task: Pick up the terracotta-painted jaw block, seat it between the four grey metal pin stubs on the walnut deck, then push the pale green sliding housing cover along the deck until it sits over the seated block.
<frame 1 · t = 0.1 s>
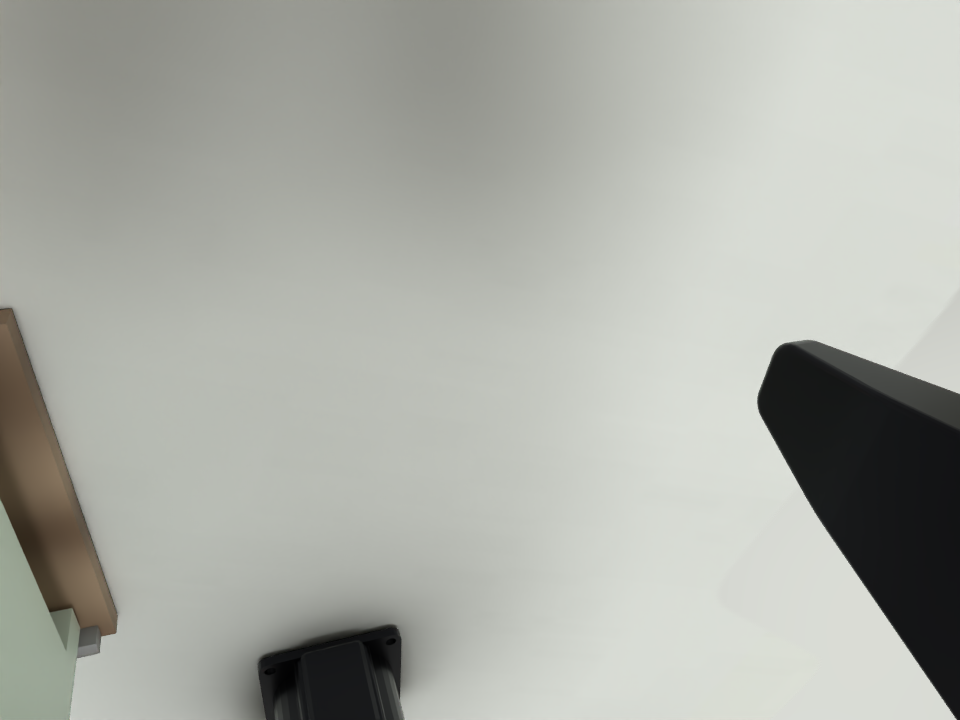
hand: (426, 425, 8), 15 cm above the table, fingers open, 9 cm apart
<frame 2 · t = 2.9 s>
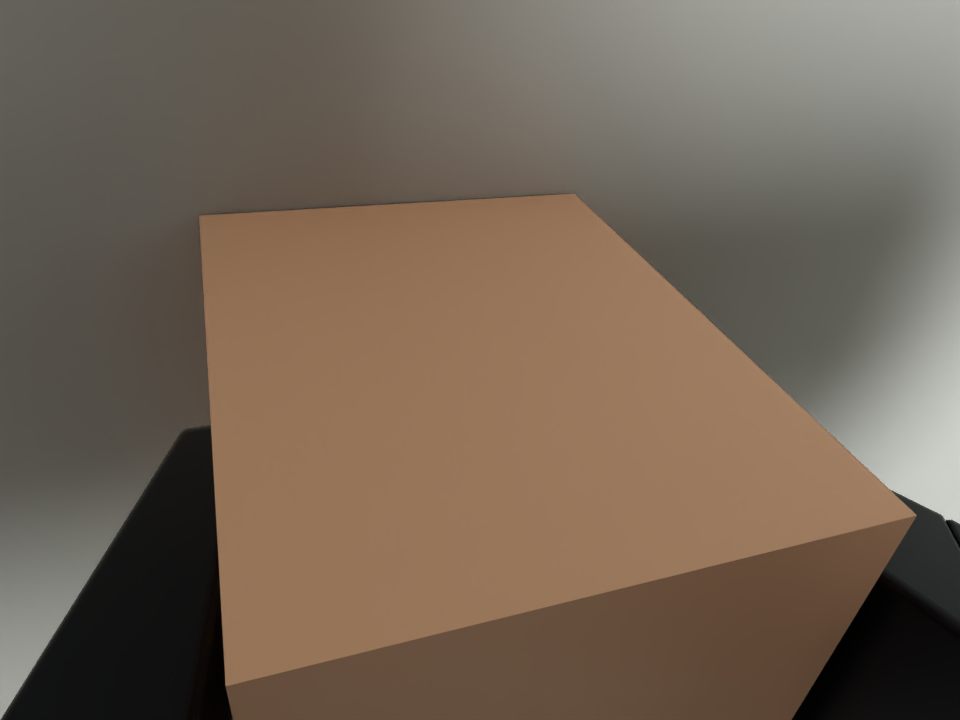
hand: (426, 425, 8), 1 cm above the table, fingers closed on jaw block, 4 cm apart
jaw block: (398, 359, 9), on the table, touching gripper
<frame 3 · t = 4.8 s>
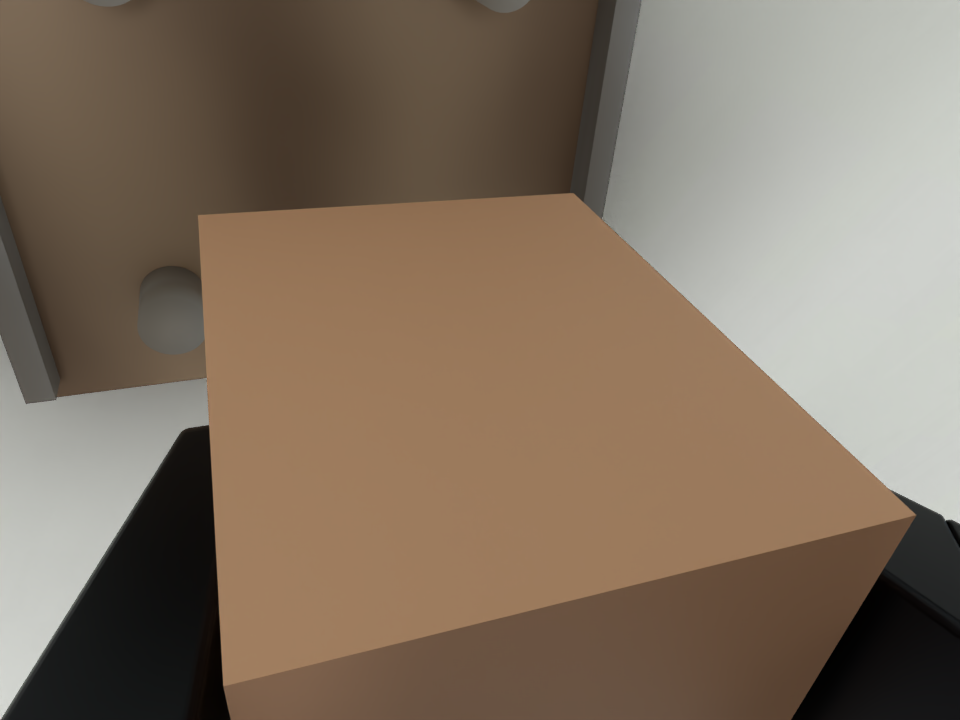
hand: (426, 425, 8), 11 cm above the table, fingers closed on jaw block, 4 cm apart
jaw block: (398, 358, 9), point 10 cm above the table, touching gripper
when the fingers open (4 cm above the table, at t = 6.6 s): jaw block drops 2 cm, resting on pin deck.
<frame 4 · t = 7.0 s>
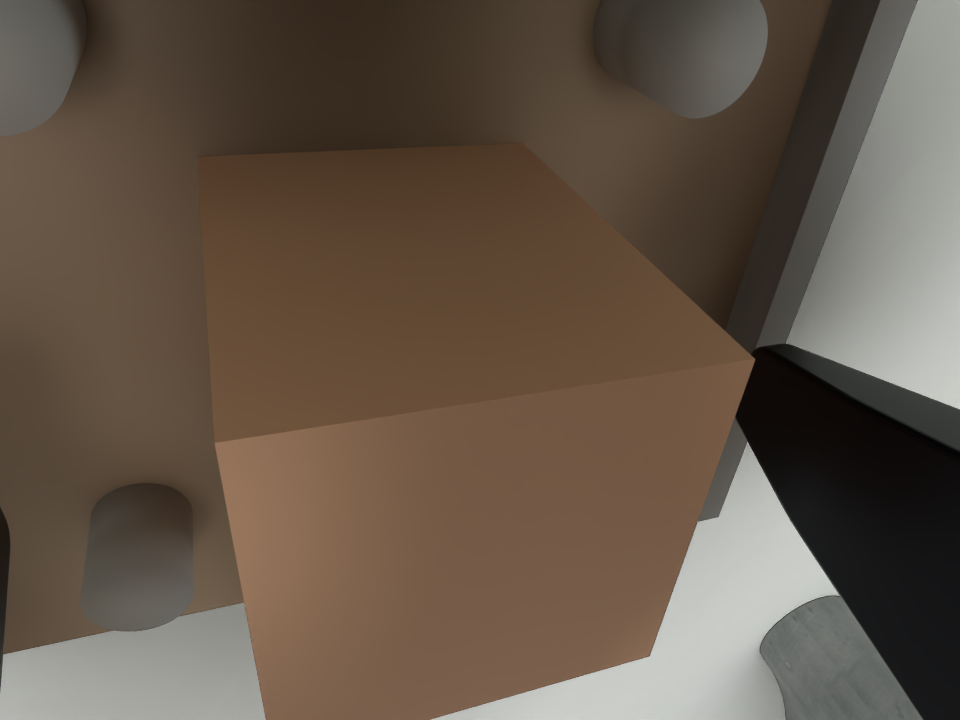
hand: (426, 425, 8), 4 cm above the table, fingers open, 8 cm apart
jaw block: (372, 291, 10), point 1 cm above the table, touching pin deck
hip flask: (813, 695, 27), on the table
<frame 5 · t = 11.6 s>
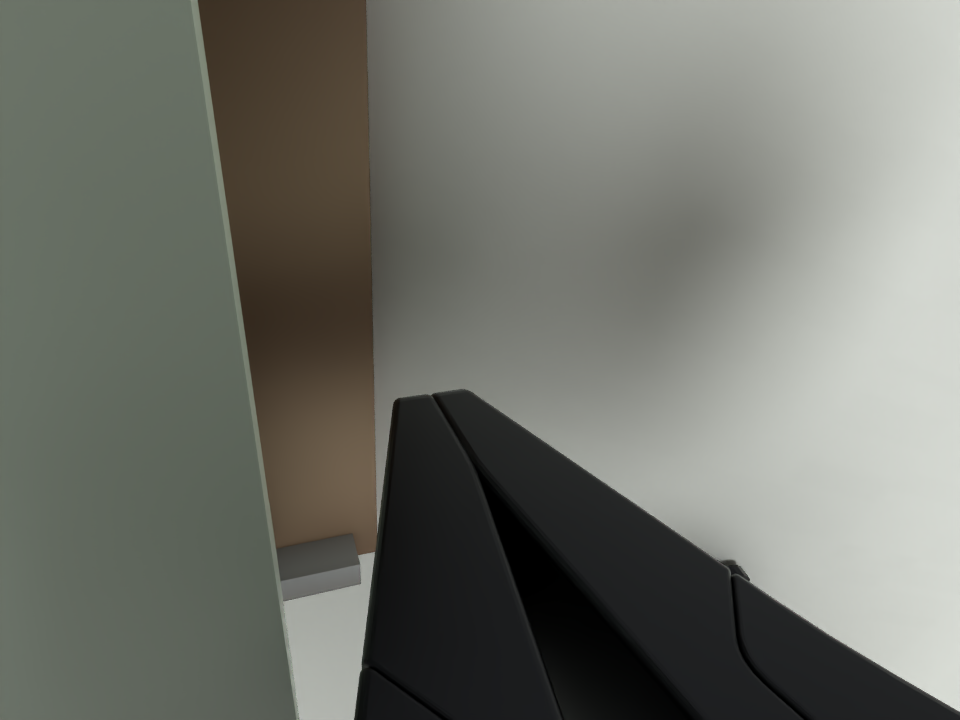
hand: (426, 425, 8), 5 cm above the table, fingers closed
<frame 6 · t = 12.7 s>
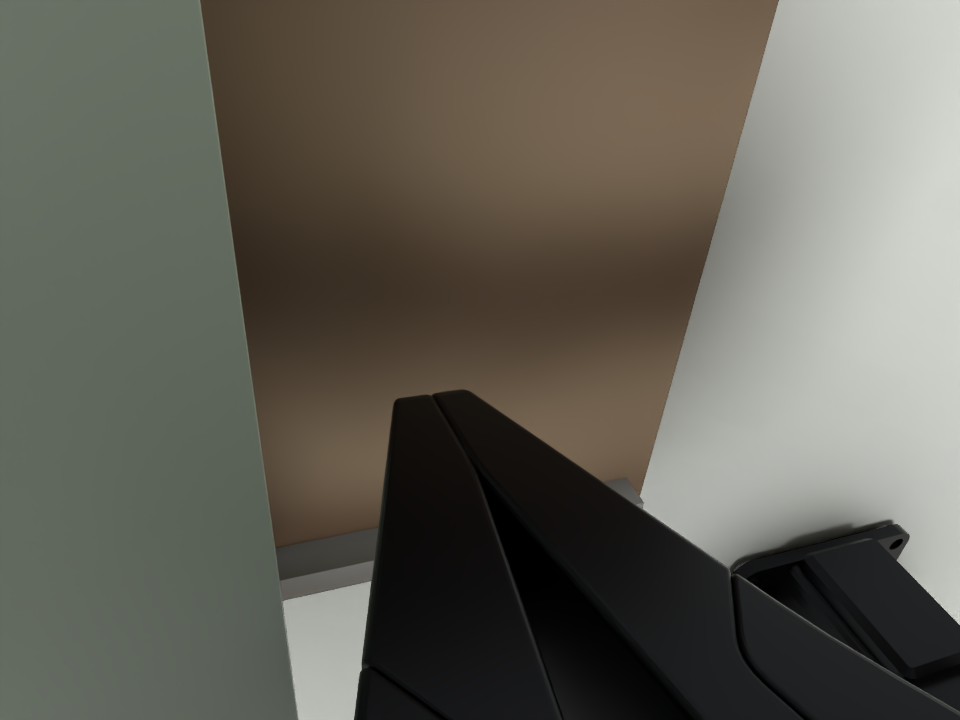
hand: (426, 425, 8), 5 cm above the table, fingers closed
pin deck: (34, 251, 10), on the table
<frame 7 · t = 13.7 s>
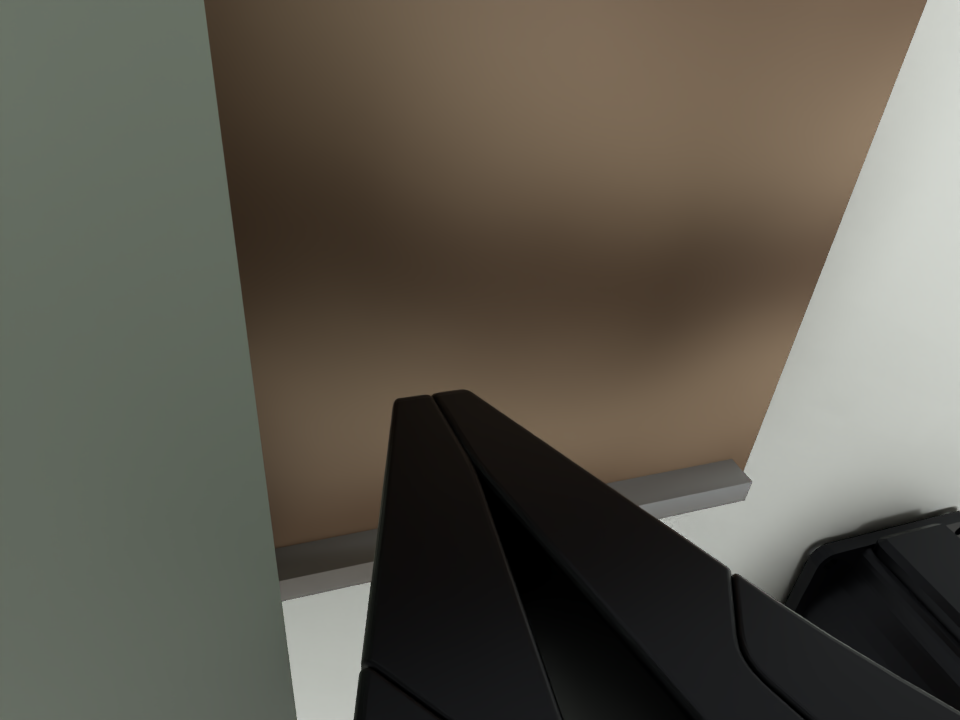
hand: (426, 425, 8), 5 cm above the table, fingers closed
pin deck: (245, 236, 11), on the table
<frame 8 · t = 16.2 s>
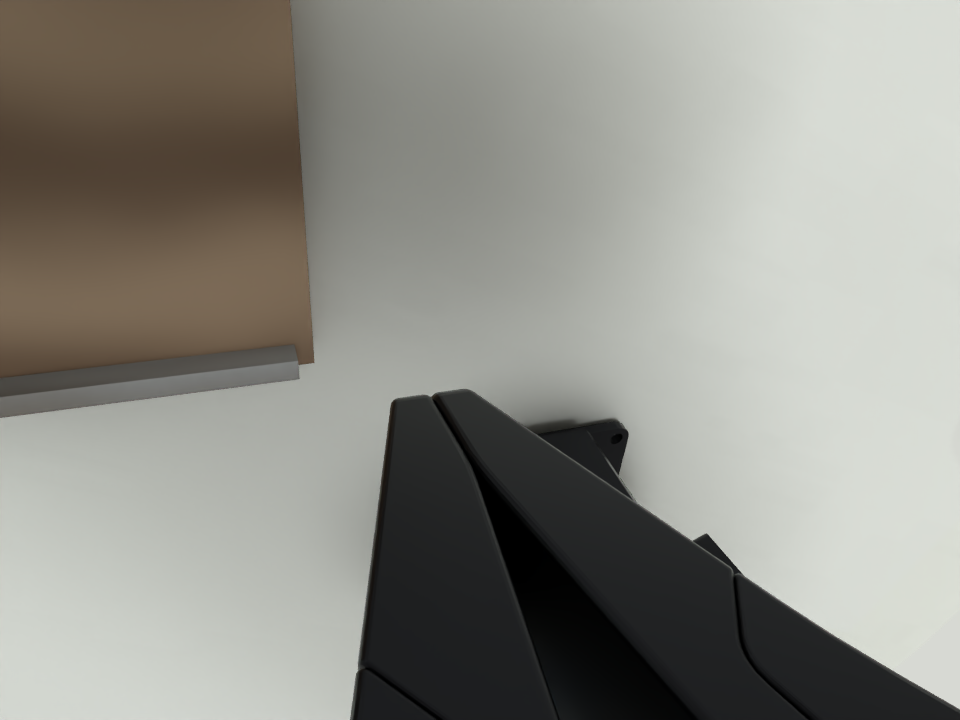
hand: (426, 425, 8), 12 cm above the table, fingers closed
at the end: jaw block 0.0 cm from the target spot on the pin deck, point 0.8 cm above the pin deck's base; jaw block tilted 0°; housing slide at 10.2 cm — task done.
